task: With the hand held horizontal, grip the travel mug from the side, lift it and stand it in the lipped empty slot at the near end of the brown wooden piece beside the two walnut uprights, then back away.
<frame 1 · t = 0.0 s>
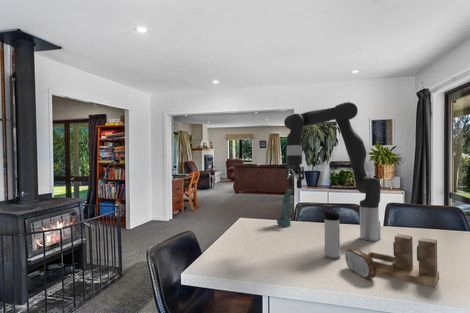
hand: (294, 187, 138), 29 cm above the table, tool pointing down, fingers open, 8 cm apart
travel mug: (332, 257, 123), on the table
teal textured tall figure: (284, 226, 181), on the table
brown wooden piece: (380, 268, 110), on the table
tin: (359, 274, 105), on the table
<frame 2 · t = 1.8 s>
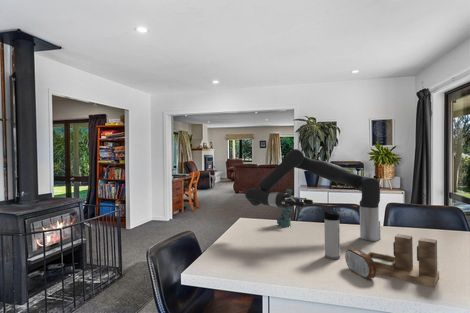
hand: (308, 203, 131), 23 cm above the table, tool horizontal, fingers open, 8 cm apart
nothing on the table moved.
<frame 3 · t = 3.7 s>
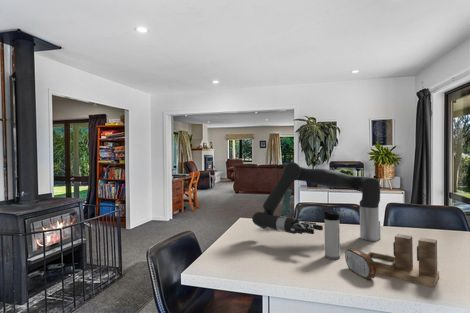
hand: (318, 229, 128), 11 cm above the table, tool horizontal, fingers open, 8 cm apart
nothing on the table moved.
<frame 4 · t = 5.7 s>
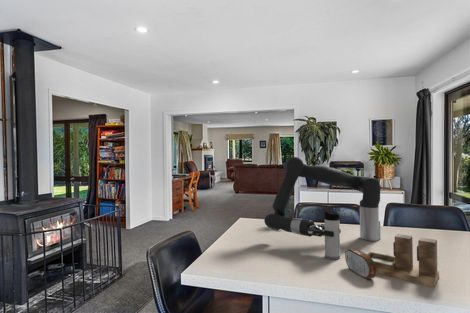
hand: (336, 232, 122), 11 cm above the table, tool horizontal, fingers closed on travel mug, 6 cm apart
travel mug: (332, 257, 123), on the table, touching gripper
everything else where it was.
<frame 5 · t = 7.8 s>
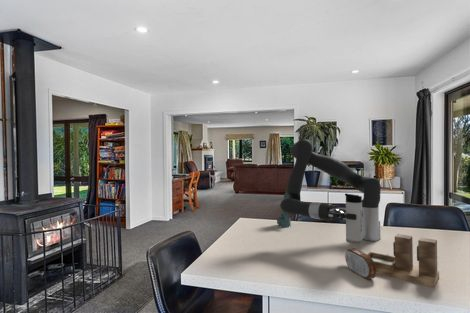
hand: (359, 215, 115), 20 cm above the table, tool horizontal, fingers closed on travel mug, 6 cm apart
travel mug: (353, 242, 117), point 8 cm above the table, touching gripper
everything else where it was.
when the fingers open (14 cm above the table, at t = 10.0 s): travel mug drops 1 cm, resting on brown wooden piece.
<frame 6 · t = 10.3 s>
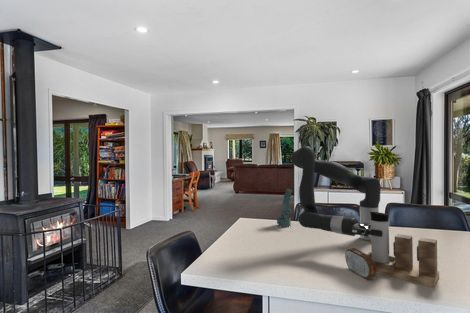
hand: (385, 231, 109), 15 cm above the table, tool horizontal, fingers open, 8 cm apart
travel mug: (380, 263, 110), point 2 cm above the table, touching brown wooden piece
everything else where it was.
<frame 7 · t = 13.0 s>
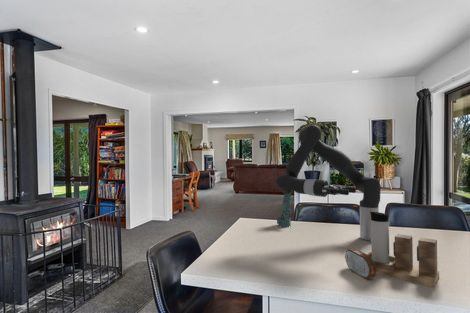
hand: (352, 191, 118), 29 cm above the table, tool horizontal, fingers open, 8 cm apart
nothing on the table moved.
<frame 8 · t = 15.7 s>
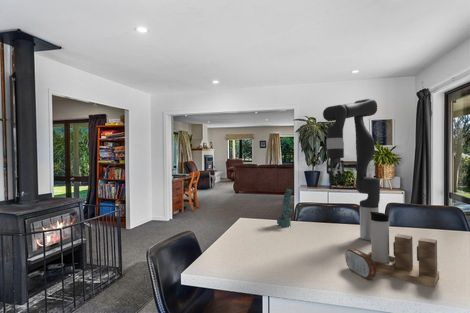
hand: (335, 182, 131), 32 cm above the table, tool pointing down, fingers open, 8 cm apart
nothing on the table moved.
at the end: travel mug inside the target area on the brown wooden piece (0.3 cm from its centre), point 2.0 cm above the brown wooden piece's base; travel mug tilted 0°; the gripper is holding nothing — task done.
